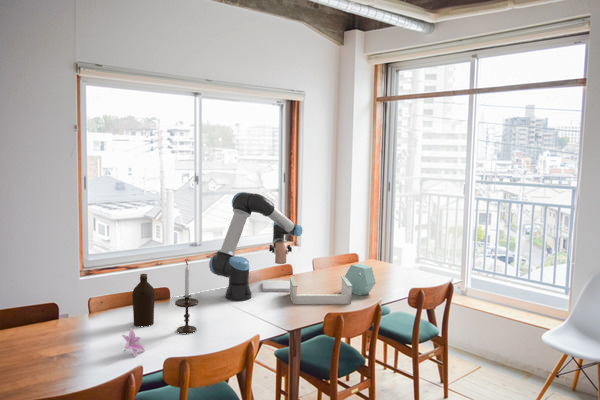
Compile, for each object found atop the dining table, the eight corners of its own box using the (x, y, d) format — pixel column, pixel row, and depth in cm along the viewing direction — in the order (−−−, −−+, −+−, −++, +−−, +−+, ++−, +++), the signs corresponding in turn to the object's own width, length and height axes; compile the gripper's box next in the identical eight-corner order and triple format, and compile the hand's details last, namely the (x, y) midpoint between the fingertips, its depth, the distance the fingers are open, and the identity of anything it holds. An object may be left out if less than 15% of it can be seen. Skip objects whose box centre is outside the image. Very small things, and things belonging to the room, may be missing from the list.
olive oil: (158, 324, 243) (158, 275, 241) (138, 329, 236) (138, 278, 234) (148, 318, 251) (148, 270, 248) (128, 323, 244) (128, 273, 241)
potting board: (263, 291, 304) (263, 288, 304) (262, 283, 322) (262, 280, 322) (292, 291, 306) (292, 288, 306) (289, 283, 324) (289, 280, 324)
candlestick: (177, 336, 229) (177, 262, 226) (173, 328, 239) (173, 257, 235) (200, 333, 234) (201, 260, 230) (195, 325, 243) (196, 256, 240)
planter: (365, 299, 310) (380, 276, 299) (356, 301, 305) (371, 278, 294) (349, 280, 320) (363, 257, 309) (341, 281, 315) (355, 258, 304)
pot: (275, 264, 307) (275, 243, 306) (274, 261, 314) (275, 241, 313) (286, 264, 308) (287, 243, 307) (285, 261, 315) (286, 241, 314)
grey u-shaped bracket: (292, 304, 281) (292, 285, 280) (289, 293, 301) (289, 276, 300) (351, 303, 285) (352, 285, 284) (344, 293, 305) (345, 276, 304)
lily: (119, 364, 201) (131, 344, 200) (107, 345, 208) (118, 326, 207) (143, 363, 210) (154, 345, 209) (131, 345, 217) (141, 327, 216)
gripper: (293, 250, 331) (296, 258, 308) (264, 250, 329) (265, 258, 306) (294, 239, 330) (297, 246, 308) (264, 239, 328) (265, 246, 306)
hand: (281, 252), depth 307 cm, fingers closed on pot, 7 cm apart
